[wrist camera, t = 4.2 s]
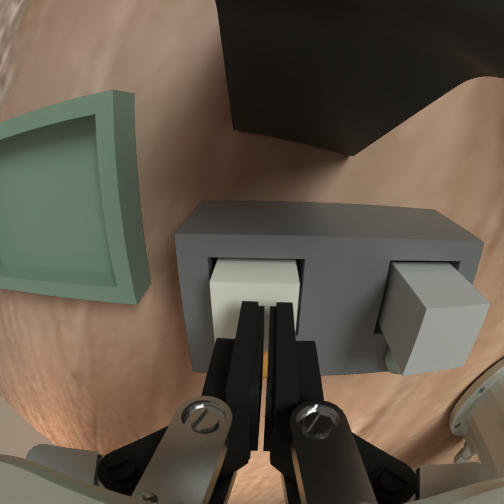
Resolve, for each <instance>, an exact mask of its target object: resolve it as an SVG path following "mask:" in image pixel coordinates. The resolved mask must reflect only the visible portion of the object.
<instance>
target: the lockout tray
mask: <svg viewBox="0 0 504 504" xmlns="http://www.w3.org/2000/svg"><path fill="white" fill-rule="evenodd" d="M150 284H151V281H150V275H149V268H148V262H147V255H146V248H145V241H144V233H143V225H142V216H141V207H140V197H139V186H138V174H137V160H136V143H135V116H134V93H129V92H123V91H117V90H110V91H105V92H101V93H96V94H92V95H88V96H83V97H79V98H76V99H72V100H68V101H64V102H61V103H57V104H54V105H51V106H47V107H44V108H41V109H38V110H35V111H32V112H29V113H26V114H23V115H20V116H18V117H15V118H12V119H10V120H7V121H4V122H2V123H0V288H1V289H7V290H14V291H20V292H27V293H34V294H42V295H49V296H57V297H65V298H73V299H82V300H91V301H101V302H111V303H122V304H134V305H137V304H138V302H139V301H140V299H141V298H142V296H143V295H144V293H145V292H146V290H147V289H148V287H149V286H150Z"/></svg>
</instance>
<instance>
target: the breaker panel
mask: <svg viewBox="0 0 504 504" xmlns="http://www.w3.org/2000/svg"><path fill="white" fill-rule="evenodd" d="M174 236H175V246H176V256H177V265H178V274H179V282H180V290H181V298H182V305H183V312H184V319H185V326H186V333H187V339H188V345H189V351H190V357H191V363H192V369H193V372H201V373H207V372H208V368H209V365H210V361H211V357H212V353H213V349H214V345H215V340H214V329H213V318H212V306H211V293H210V279H211V277H212V274H213V271H214V268H215V265H216V263H217V260H218V257H225V258H275V259H295V260H296V266H297V271H298V277H299V283H300V286H299V298H298V309H297V320H296V331H295V336H296V341H315V343H316V349H317V355H318V362H319V368H320V375H321V376H325V375H346V374H362V373H375V372H386V371H390V372H391V373H394V374H401V373H400V370H399V368H398V366H397V363H396V361H395V359H394V356H393V354H392V352H391V350H390V347H389V345H388V343H387V341H386V339H385V336H384V334H383V332H382V330H381V328H380V326H379V324H378V319H379V315H380V311H381V307H382V303H383V299H384V295H385V290H386V286H387V281H388V276H389V271H390V266H391V262H449V263H450V264H451V265H452V266H453V267H454V268H455V269H456V270H457V271H458V272H459V273H460V274H461V275H462V276H464V277H465V278H466V279H467V280H468V281H469V282H470V283H471V284H472V285H473V282H474V278H475V275H476V272H477V268H478V265H479V261H480V257H481V253H482V249H483V245H484V242H483V241H481V240H480V239H479V238H477V237H476V236H474V235H473V234H471V233H470V232H468V231H467V230H465V229H464V228H462V227H461V226H459V225H458V224H456V223H455V222H453V221H452V220H450V219H449V218H447V217H445V216H444V215H442V214H441V213H439V212H437V211H436V210H430V209H418V208H405V207H391V206H376V205H359V204H339V203H315V202H280V201H201V202H200V204H199V205H198V206H197V207H196V208H195V210H194V211H193V212H192V213H191V214H190V216H189V217H188V218H187V219H186V220H185V222H184V223H183V224H182V225H181V226H180V228H179V229H178V230H177V231H176V233H175V234H174ZM267 367H268V351H263V377H262V379H264V378H267Z"/></svg>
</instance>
